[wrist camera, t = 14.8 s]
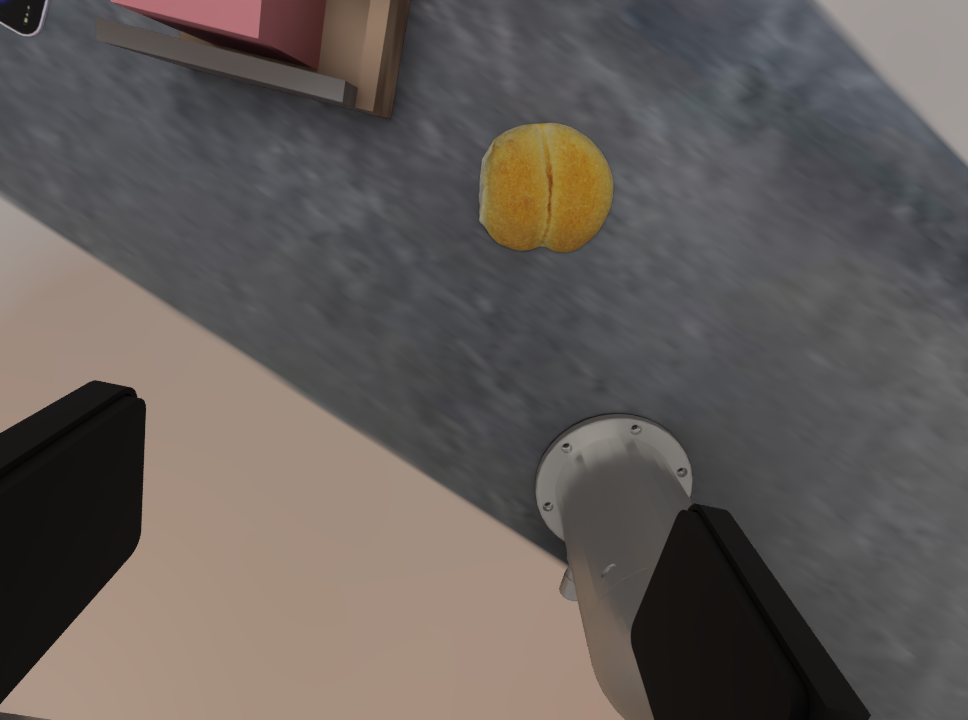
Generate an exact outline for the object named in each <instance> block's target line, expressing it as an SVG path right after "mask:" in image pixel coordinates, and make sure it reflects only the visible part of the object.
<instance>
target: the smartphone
mask: <svg viewBox="0 0 968 720" xmlns="http://www.w3.org/2000/svg"><path fill="white" fill-rule="evenodd" d="M50 2H51V0H0V24H2V25H4V26H6V27H7V28H9V29H11V30H12V31H14V32H16V33H18V34H20V35H22V36H25V37H32V36H36V35H37V34H39V33H40V32H41V30H42V28H43V26H44V23H45V19H46V16H47V12H48V9H49V5H50Z"/></svg>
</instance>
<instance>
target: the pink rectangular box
mask: <svg viewBox="0 0 968 720" xmlns="http://www.w3.org/2000/svg"><path fill="white" fill-rule="evenodd" d="M111 2H113V3H115V4H118V5H120V6H123V7H125V8H127V9H130V10H132V11H135V12H137V13H139V14H142V15H144V16H146V17H149V18H151V19H154V20H156V21H158V22H161V23H163V24H165V25H168V26H170V27H173V28H175V29H177V30H180V31H182V32H184V33H187V34H189V35H192V36H194V37H196V38H199V39H201V40H203V41H206V42H208V43H211V44H214V45H218V46H222V47H226V48H230V49H234V50H238V51H242V52H246V53H250V54H254V55H258V56H262V57H266V58H270V59H274V60H278V61H282V62H286V63H290V64H294V65H298V66H302V67H306V68H310V69H314V70H318V67H319V59H320V50H321V42H322V33H323V25H324V16H325V8H326V0H111Z"/></svg>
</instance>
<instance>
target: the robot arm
mask: <svg viewBox="0 0 968 720" xmlns="http://www.w3.org/2000/svg"><path fill="white" fill-rule="evenodd" d="M145 417H146V404H145V401H144V400H143V399H141V398H137V394H136V391H135V390H134V389H133V388H131V387H126V386H121V385H116V384H111V383H106V382H101V381H96V380H95V381H92V382H89V383H87V384H86V385H84V386H82V387H80V388H78V389H77V390H75V391H73V392H71V393H70V394H68V395H66V396H65V397H63V398H61V399H59V400H57V401H56V402H54V403H52V404H50V405H49V406H47V407H45V408H43V409H42V410H40V411H38V412H36V413H35V414H33V415H32V416H29V417H28V418H26V419H24V420H22V421H21V422H19V423H17V424H15V425H14V426H12V427H10V428H8V429H7V430H5V431H3V432H1V433H0V704H1V703H2V701H3V700H4V699H5V698H6V697H7V696H8V695H9V694H10V692H11V691H12V690H13V689H14V688H15V687H16V686H17V684H18V683H19V682H20V681H21V680H22V679H23V678H24V677H25V675H26V674H27V673H28V672H29V671H30V669H32V667H33V666H34V665H35V664H36V663H37V662H38V661H39V660H40V658H41V657H42V656H43V655H44V654H45V653H46V651H47V650H48V649H49V648H50V647H51V646H52V645H53V644H54V643H55V641H56V640H57V639H58V638H59V637H60V636H61V635H62V633H63V632H64V631H65V630H66V629H67V628H68V627H69V625H70V624H71V623H72V622H73V621H74V620H75V619H76V618H77V616H78V615H79V614H80V613H81V612H82V611H83V610H84V608H85V607H86V606H87V605H88V604H89V603H90V602H91V600H92V599H93V598H94V597H95V596H96V595H97V594H98V592H99V591H100V590H101V589H102V588H103V587H104V586H105V585H106V583H107V582H108V581H109V580H110V579H111V578H112V577H113V575H114V574H115V573H116V572H117V571H118V570H119V569H120V568H121V566H122V565H123V564H124V563H125V562H126V561H127V560H128V558H129V557H130V556H131V555H132V553H133V552H134V550H135V549H136V547H137V544H138V542H139V539H140V535H141V521H142V495H143V468H144V443H145V420H146V418H145ZM634 425H636V426H635V427H632V426H634ZM565 443H568V444H567V445H563V444H565ZM692 482H693V477H692V470H691V465H690V463H689V460H688V457H687V455H686V453H685V451H684V450H683V448H682V447H681V445H680V444H679V442H678V441H677V440H676V439H675V438H674V437H673V435H672V434H671V433H670V432H668V431H667V430H666V429H664V428H663V427H662V426H660V425H659V424H657V423H655V422H652V421H650V420H648V419H646V418H642V417H638V416H634V415H626V414H610V415H601V416H598V417H594V418H590V419H587V420H585V421H582V422H580V423H578V424H576V425H574V426H572V427H571V428H569V429H568V430H566V431H565V432H564V433H562V434H561V435H560V436H559V437H558V438H557V439H556V440H555V441H554V442H553V443H552V444H551V445H550V446H549V448H548V449H547V451H546V452H545V454H544V455H543V457H542V459H541V462H540V464H539V466H538V469H537V474H536V479H535V494H536V499H537V505H538V508H539V511H540V513H541V516H542V518H543V520H544V521H545V523H546V524H547V526H548V527H549V529H550V530H551V531H552V532H553V533H554V534H555V535H556V536H557V537H559V538H560V539H562V540H563V541H565V544H566V549H567V553H568V554H567V561H568V563H569V566H568V569H567V570H566V571H565V574H564V577H563V579H562V582H561V585H560V588H559V589H560V593H561V594H562V595H563V597H565V598H566V599H568V600H571V601H578V603H579V609H580V613H581V618H582V622H583V627H584V631H585V636H586V641H587V646H588V649H589V654H590V658H591V662H592V666H593V669H594V672H595V675H596V678H597V681H598V682H599V685H600V687H601V689H602V691H603V693H604V694H605V696H606V697H607V698H608V700H609V701H610V703H611V704H612V705H613V707H614V708H615V710H616V711H617V712H618V713H619V714H620V715H621V716H622V717H623V718H624V719H625V720H868V719H869V718H870V716H871V715H870V713H869V712H868V710H867V709H866V707H865V706H864V705H863V703H862V702H861V700H860V699H859V697H858V696H857V695H856V693H855V692H854V690H853V689H852V687H851V686H850V685H849V683H848V682H847V680H846V679H845V677H844V676H843V675H842V673H841V672H840V670H839V669H838V667H837V666H836V665H835V663H834V662H833V660H832V659H831V657H830V656H829V654H828V653H827V652H826V650H825V649H824V647H823V646H822V644H821V643H820V642H819V640H818V639H817V637H816V636H815V634H814V633H813V632H812V630H811V629H810V627H809V626H808V624H807V623H806V622H805V620H804V619H803V617H802V616H801V614H800V613H799V612H798V610H797V609H796V607H795V606H794V604H793V603H792V601H791V600H790V599H789V597H788V596H787V594H786V593H785V591H784V590H783V589H782V587H781V586H780V584H779V583H778V581H777V580H776V579H775V577H774V576H773V574H772V573H771V571H770V570H769V569H768V567H767V566H766V564H765V563H764V561H763V560H762V559H761V557H760V556H759V554H758V553H757V551H756V550H755V548H754V547H753V546H752V544H751V543H750V541H749V540H748V538H747V537H746V536H745V534H744V533H743V531H742V530H741V528H740V527H739V526H738V524H737V523H736V521H735V520H734V518H733V517H732V516H731V514H730V513H729V512H728V511H727V510H723V509H719V508H714V507H709V506H704V505H699V504H693V503H692V502H691V500H690V496H691V493H692ZM546 502H548V503H546ZM0 720H49V719H42V718H36V717H29V716H22V715H16V714H9V713H1V712H0Z"/></svg>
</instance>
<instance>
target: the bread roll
mask: <svg viewBox="0 0 968 720" xmlns="http://www.w3.org/2000/svg"><path fill="white" fill-rule="evenodd" d="M479 186H480V192H479V203H480V210H479V215H480V219H479V221H480V223H481V224H483V225H484V227H485V228H486V229H487V231H488V233H489V234H490V235H491V237H492V238H493V239H494V240H495V241H496V242H498V243H499V244H501V245H503V246H506V247H508V248H511V249H514V250H531V249H534V248H537V247H547V248H548V249H550V250H552V251H556V252H570V251H574V250H576V249H578V248H580V247H582V246H583V245H584V244H585V243H587V242H588V241H589V240H590V239H591V238H592V237H593V236H594V235H595V234H596V233H597V232H598V231H599V230H600V228H601V226H602V224H603V223H604V221H605V219H606V217H607V215H608V213H609V210H610V208H611V203H612V198H613V178H612V174H611V171H610V168H609V165H608V163H607V161H606V159H605V157H604V156H603V154H602V153H601V151H600V150H599V149H598V147H597V146H596V145H595V144H594V143H593V142H592V141H591V140H590V139H589V138H588V137H586V136H585V135H584V134H582V133H580V132H579V131H577V130H576V129H574V128H571V127H569V126H566V125H563V124H558V123H542V124H527V125H522V126H518V127H515V128H512V129H510V130H508V131H506V132H504V133H502V134H501V135H499V136H498V137H497V138H495V139H494V140H493V142H492V143H491V145H490V147H489V149H488V150H487V152H486V154H485V155H484V157H483V159H482V165H481V174H480V185H479Z"/></svg>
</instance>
